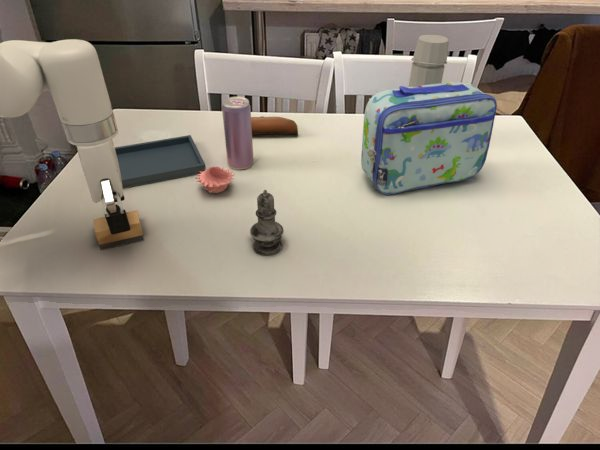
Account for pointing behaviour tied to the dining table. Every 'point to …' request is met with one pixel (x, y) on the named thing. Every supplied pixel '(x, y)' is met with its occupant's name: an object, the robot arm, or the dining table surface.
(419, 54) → the water bottle
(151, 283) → the dining table surface
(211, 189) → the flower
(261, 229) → the chess bishop
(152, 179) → the tray
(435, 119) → the lunch box
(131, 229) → the eraser
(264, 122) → the sunglasses case
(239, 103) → the beverage can
